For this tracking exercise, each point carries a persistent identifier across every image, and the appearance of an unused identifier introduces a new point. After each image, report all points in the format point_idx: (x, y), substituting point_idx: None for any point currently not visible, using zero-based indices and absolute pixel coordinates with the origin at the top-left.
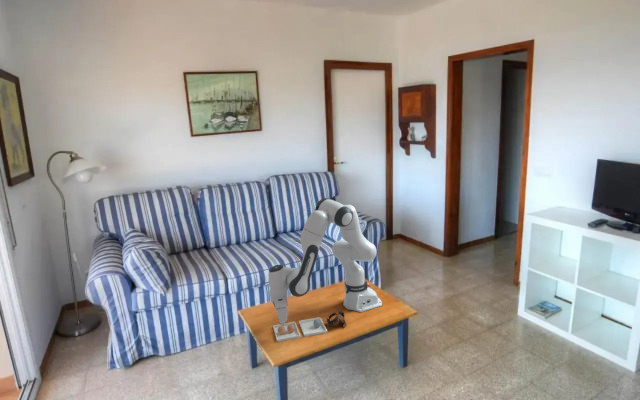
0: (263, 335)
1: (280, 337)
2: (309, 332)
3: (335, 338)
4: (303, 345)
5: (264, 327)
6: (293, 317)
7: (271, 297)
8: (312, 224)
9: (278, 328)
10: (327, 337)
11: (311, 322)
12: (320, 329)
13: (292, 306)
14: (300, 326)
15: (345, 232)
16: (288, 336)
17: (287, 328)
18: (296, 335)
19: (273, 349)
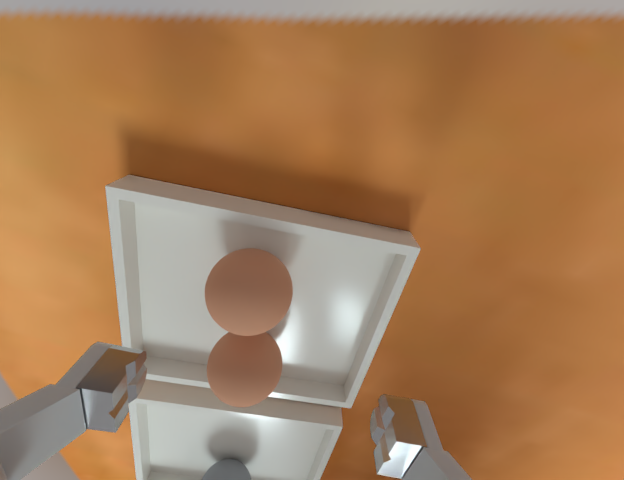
0: (346, 86)
1: (195, 235)
2: (183, 416)
3: (86, 473)
4: (41, 337)
5: (497, 159)
6: (448, 402)
7: None
8: None
9: (245, 280)
10: (108, 454)
11: (298, 456)
12: (192, 463)
13: (588, 439)
14: (283, 404)
15: None
16: (185, 297)
17: (240, 343)
18: (175, 347)
19: (10, 93)
